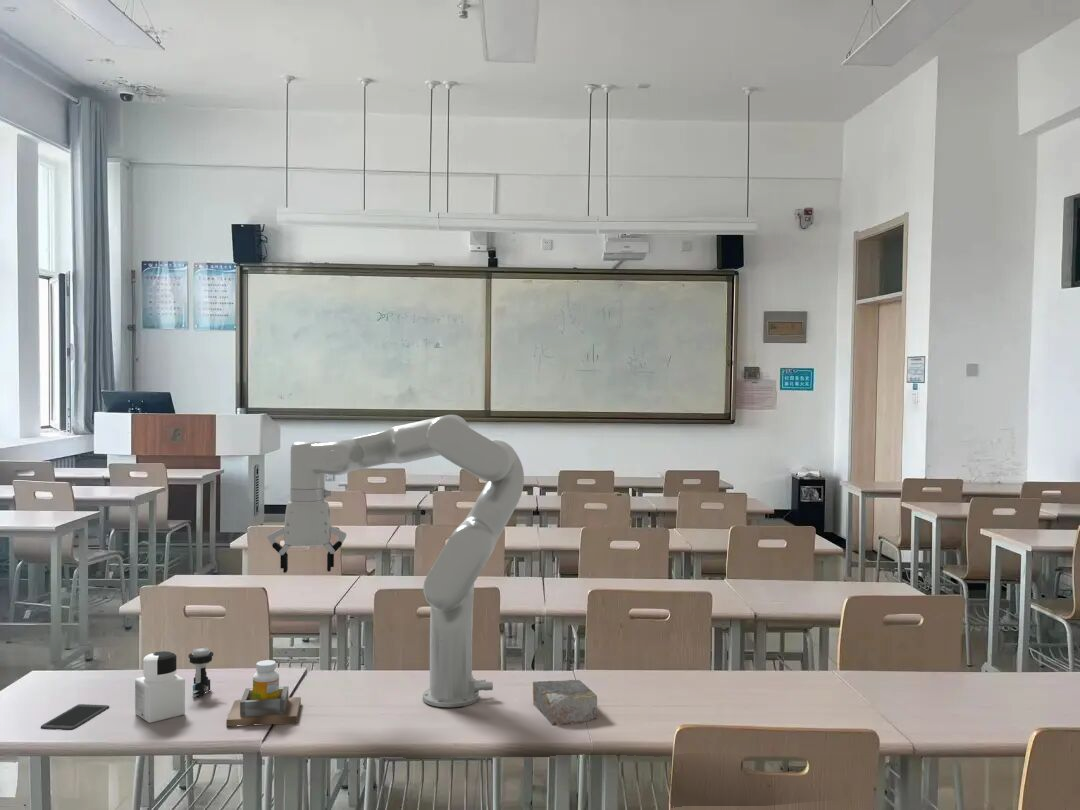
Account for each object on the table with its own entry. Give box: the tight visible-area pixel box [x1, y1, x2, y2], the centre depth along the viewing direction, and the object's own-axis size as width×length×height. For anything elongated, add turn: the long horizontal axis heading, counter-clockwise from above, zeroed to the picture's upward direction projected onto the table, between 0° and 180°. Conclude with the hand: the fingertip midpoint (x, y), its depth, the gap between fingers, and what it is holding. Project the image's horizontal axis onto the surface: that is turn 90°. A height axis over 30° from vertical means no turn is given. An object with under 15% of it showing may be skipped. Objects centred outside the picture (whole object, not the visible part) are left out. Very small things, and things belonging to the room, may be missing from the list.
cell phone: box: [40, 703, 110, 731], centre depth 196 cm, size 7×14×1 cm, turn 174°
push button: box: [188, 647, 214, 698], centre depth 211 cm, size 7×5×10 cm
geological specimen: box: [532, 679, 598, 726], centre depth 202 cm, size 11×6×15 cm
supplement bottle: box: [252, 659, 280, 700], centre depth 198 cm, size 5×5×10 cm
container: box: [134, 650, 186, 724], centre depth 198 cm, size 8×8×13 cm
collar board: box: [225, 686, 302, 726], centre depth 198 cm, size 14×12×4 cm
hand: (307, 571), depth 211 cm, fingers open, 9 cm apart
